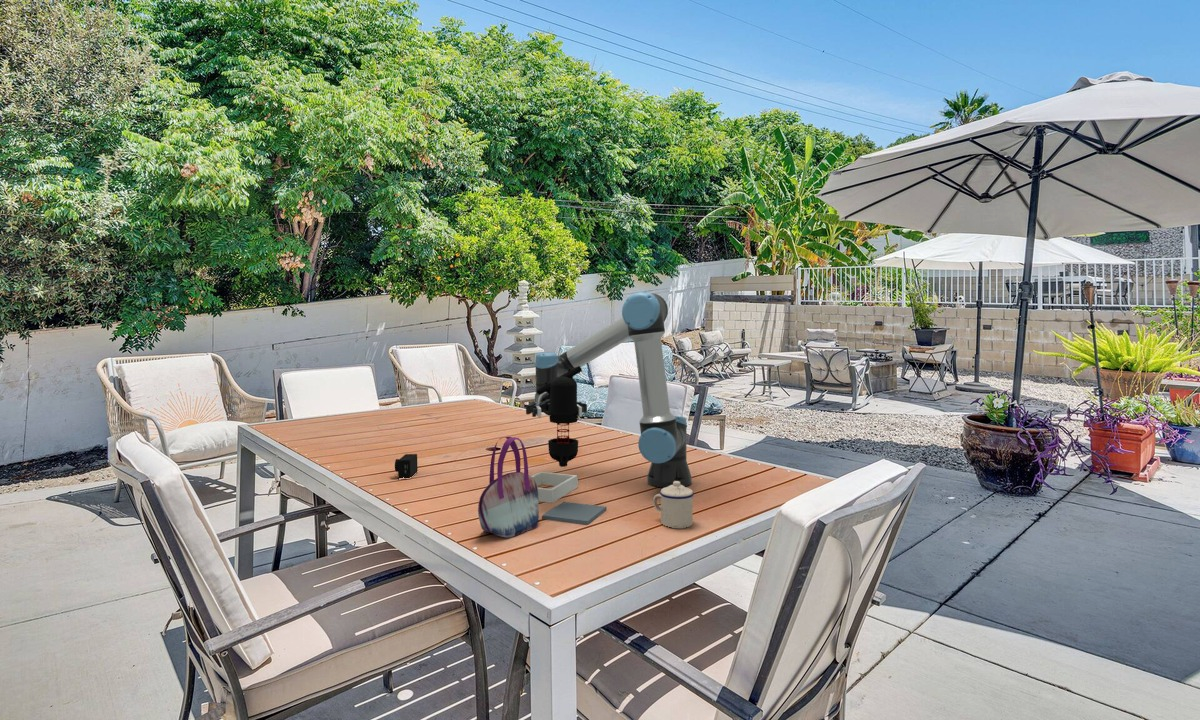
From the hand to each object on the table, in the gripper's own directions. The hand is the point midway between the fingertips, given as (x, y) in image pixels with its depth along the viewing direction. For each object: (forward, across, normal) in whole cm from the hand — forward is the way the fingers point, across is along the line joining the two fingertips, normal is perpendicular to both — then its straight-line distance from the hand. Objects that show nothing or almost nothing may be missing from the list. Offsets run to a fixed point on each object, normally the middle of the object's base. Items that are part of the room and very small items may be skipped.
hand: (560, 412), depth 179 cm
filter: (-4, 0, -17) cm, 17 cm away
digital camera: (-54, +48, -30) cm, 78 cm away
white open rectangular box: (-21, +2, -29) cm, 36 cm away
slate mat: (+4, -3, -29) cm, 29 cm away
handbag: (+12, +16, -29) cm, 35 cm away
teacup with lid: (+17, -28, -29) cm, 44 cm away
